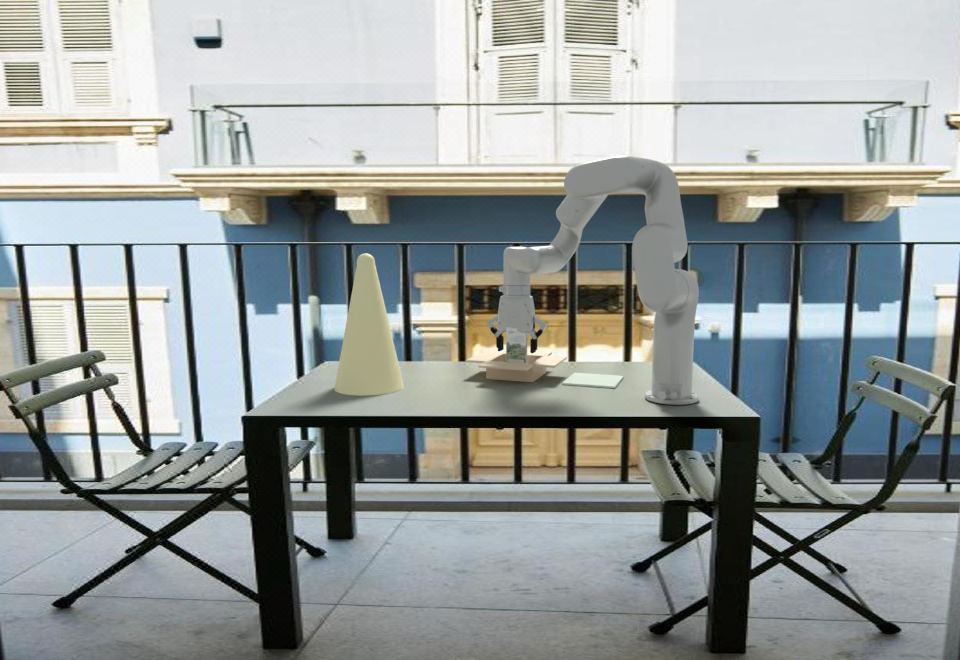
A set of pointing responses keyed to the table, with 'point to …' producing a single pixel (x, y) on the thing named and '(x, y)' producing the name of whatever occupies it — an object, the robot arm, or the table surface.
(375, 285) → the cone light
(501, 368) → the kraft carton
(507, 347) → the syrup box
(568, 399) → the table surface
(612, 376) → the sage rubber mat
